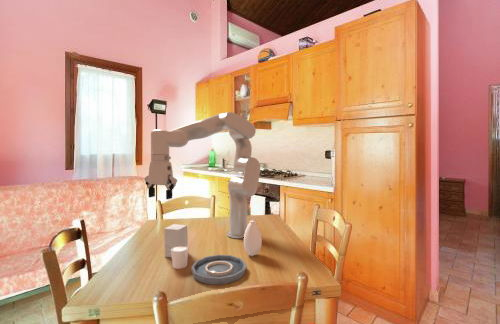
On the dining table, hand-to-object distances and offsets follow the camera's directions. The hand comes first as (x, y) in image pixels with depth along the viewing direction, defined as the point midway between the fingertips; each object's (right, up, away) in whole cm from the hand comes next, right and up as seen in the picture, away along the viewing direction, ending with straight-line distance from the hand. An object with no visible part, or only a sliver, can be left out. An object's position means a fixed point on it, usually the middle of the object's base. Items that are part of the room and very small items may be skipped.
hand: (160, 197), depth 117 cm
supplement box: (+7, -26, +1) cm, 26 cm away
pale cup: (+11, -26, -9) cm, 30 cm away
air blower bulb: (+40, -26, +1) cm, 48 cm away
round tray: (+27, -26, -14) cm, 40 cm away
